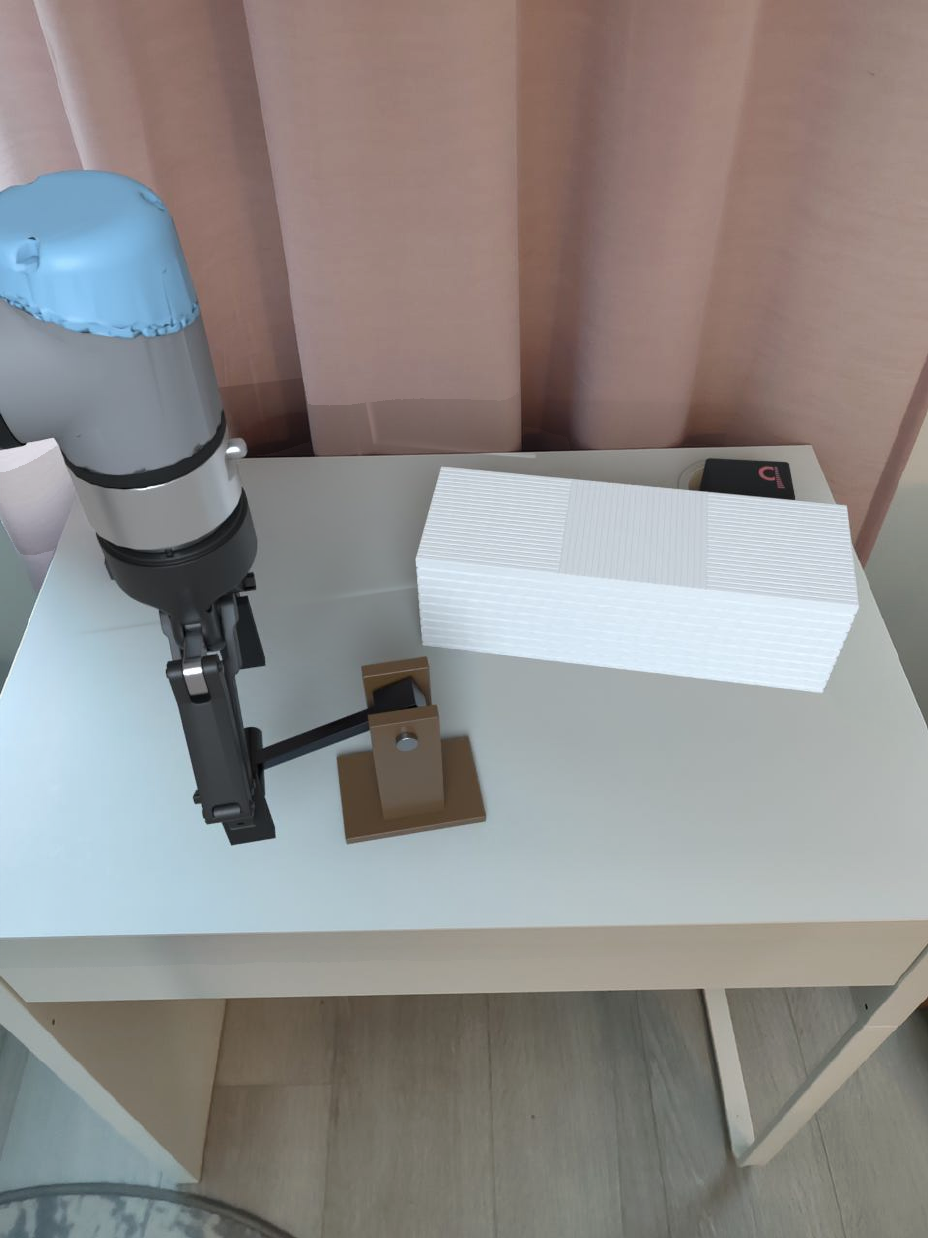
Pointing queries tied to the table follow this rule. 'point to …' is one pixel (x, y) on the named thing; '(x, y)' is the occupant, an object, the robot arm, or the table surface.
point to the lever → (329, 729)
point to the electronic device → (748, 478)
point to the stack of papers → (637, 577)
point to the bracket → (407, 767)
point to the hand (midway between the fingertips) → (249, 745)
